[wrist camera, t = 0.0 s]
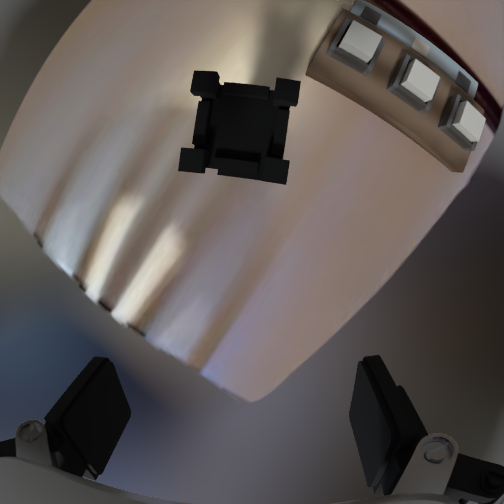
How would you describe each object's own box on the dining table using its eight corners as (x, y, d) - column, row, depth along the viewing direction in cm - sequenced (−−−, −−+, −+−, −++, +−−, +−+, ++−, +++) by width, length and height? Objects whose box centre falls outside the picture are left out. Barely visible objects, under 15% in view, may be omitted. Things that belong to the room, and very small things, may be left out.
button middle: (408, 64, 29) (415, 58, 26) (431, 81, 29) (440, 77, 27) (398, 85, 30) (406, 80, 27) (423, 102, 30) (431, 99, 28)
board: (351, -5, 30) (360, -22, 24) (481, 87, 32) (499, 81, 26) (305, 75, 34) (311, 61, 29) (452, 171, 36) (472, 173, 31)
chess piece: (278, 183, 38) (291, 191, 19) (218, 174, 38) (171, 176, 19) (287, 124, 36) (307, 77, 17) (226, 116, 36) (189, 65, 17)
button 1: (457, 103, 29) (467, 100, 27) (476, 120, 30) (485, 118, 27) (450, 124, 30) (459, 122, 28) (468, 141, 31) (478, 141, 28)
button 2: (348, 28, 28) (353, 20, 26) (376, 43, 28) (382, 36, 26) (337, 48, 29) (342, 40, 27) (365, 64, 29) (371, 57, 27)
